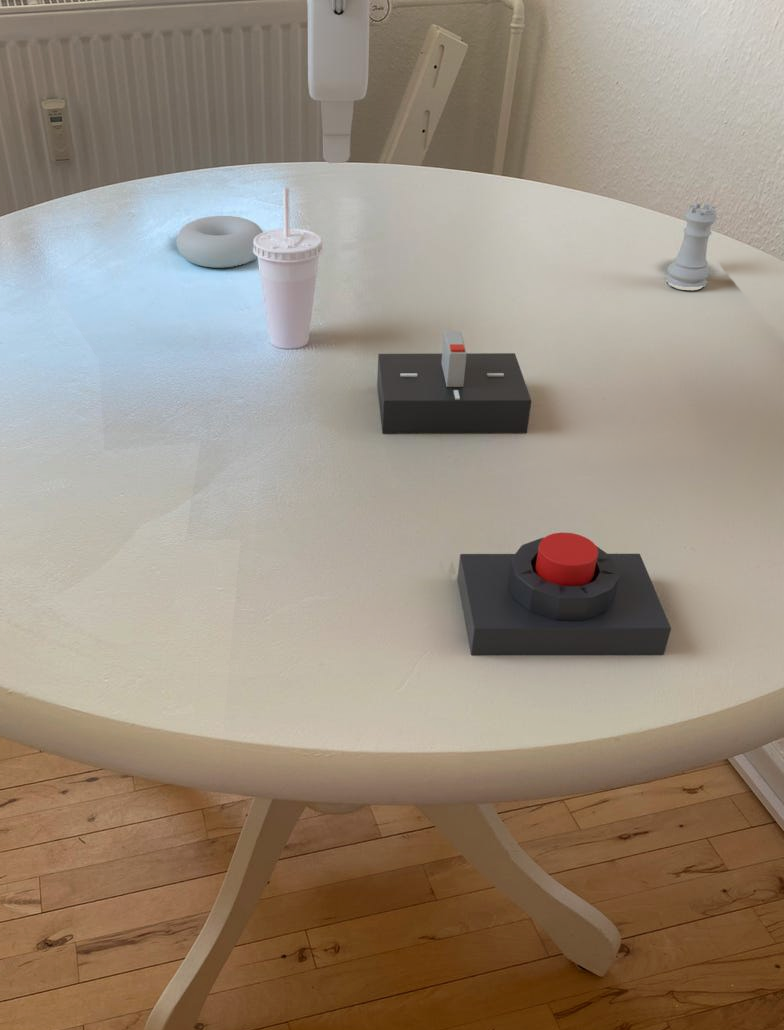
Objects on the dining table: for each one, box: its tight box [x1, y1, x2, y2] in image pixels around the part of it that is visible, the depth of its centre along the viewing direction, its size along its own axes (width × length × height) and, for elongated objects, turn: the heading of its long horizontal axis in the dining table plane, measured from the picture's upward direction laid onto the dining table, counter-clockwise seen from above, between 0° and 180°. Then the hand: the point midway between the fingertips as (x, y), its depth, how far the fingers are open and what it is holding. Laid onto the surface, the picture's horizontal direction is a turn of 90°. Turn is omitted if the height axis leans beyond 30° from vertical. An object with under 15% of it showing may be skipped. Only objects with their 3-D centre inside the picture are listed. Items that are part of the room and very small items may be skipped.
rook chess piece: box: [665, 202, 718, 287], centre depth 110 cm, size 4×4×8 cm
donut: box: [176, 215, 264, 269], centre depth 119 cm, size 10×4×10 cm
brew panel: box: [376, 352, 532, 434], centre depth 90 cm, size 12×9×3 cm
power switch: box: [456, 537, 672, 656], centre depth 68 cm, size 12×8×4 cm, turn 90°
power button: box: [536, 532, 598, 586], centre depth 66 cm, size 4×4×2 cm
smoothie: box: [253, 186, 324, 350], centre depth 98 cm, size 6×6×14 cm
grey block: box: [441, 330, 468, 387], centre depth 88 cm, size 4×1×3 cm, turn 0°
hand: (335, 140), depth 75 cm, fingers open, 8 cm apart
